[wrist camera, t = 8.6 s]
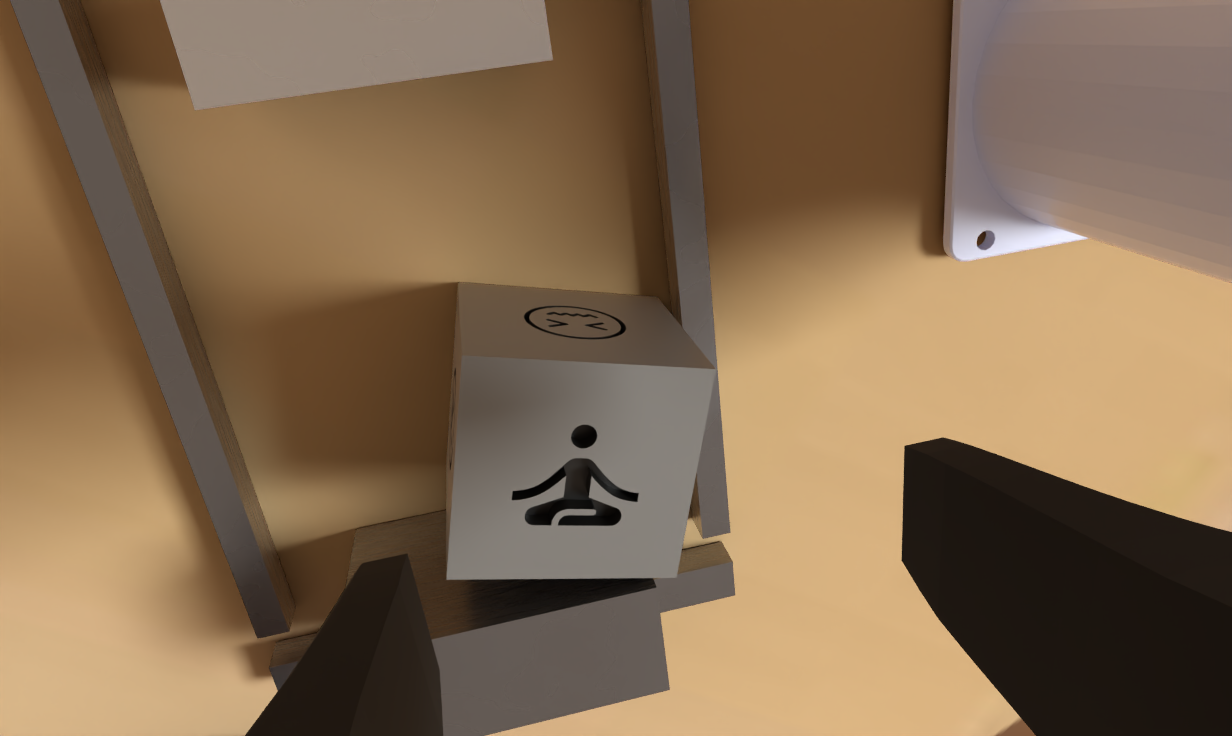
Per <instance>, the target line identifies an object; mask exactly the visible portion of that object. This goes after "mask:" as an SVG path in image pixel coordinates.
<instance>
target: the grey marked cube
mask: <svg viewBox="0 0 1232 736" xmlns="http://www.w3.org/2000/svg"><path fill="white" fill-rule="evenodd" d="M715 372H716V368H715V367H714V366H713V365H712V364H711V362H710V361H709V360H708V359H707V357H706V356H705V355H704V354H703V352H702V351H701V350H700V349H699V348H698V346H697V345H696V344H695V343H694V341H693V340H692V339H691V338H690V336H689V335H688V334H687V333H686V332H685V330H684V329H683V328H682V327H681V325H680V324H679V323H678V322H677V321H676V319H675V318H674V317H673V316H672V314H671V313H670V312H669V311H668V309H667V308H666V307H665V306H664V305H663V303H662V302H661V301H660V300H659V298H658V297H653V296H640V295H626V294H613V293H599V292H586V291H572V290H559V289H545V288H532V287H519V286H505V285H492V284H478V283H465V282H458V289H457V304H456V320H455V335H454V350H453V366H452V381H451V397H450V412H449V427H448V443H447V458H446V580H472V579H592V578H677V572H678V567H679V562H680V556H681V551H682V546H683V541H684V535H685V530H686V525H687V520H688V514H689V509H690V504H691V499H692V493H693V488H694V483H695V478H696V472H697V467H698V462H699V457H700V451H701V446H702V441H703V435H704V430H705V425H706V420H707V414H708V409H709V404H710V399H711V393H712V388H713V383H714V378H715Z"/></svg>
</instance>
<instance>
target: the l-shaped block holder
mask: <svg viewBox="0 0 1232 736" xmlns="http://www.w3.org/2000/svg"><path fill="white" fill-rule="evenodd" d="M160 3H161V6H162V9H163V12H164V15H165V18H166V21H167V24H168V28H169V31H170V34H171V37H172V40H173V43H174V46H175V49H176V53H177V56H178V59H179V62H180V65H181V68H182V71H183V74H184V78H185V81H186V84H187V87H188V90H189V93H190V96H191V100H192V103H193V106H194V109H195V110H201V109H208V108H216V107H223V106H230V105H237V104H244V103H251V102H258V101H265V100H272V99H280V98H287V97H294V96H301V95H308V94H315V93H322V92H329V91H336V90H344V89H351V88H358V87H365V86H372V85H379V84H386V83H393V82H400V81H408V80H415V79H422V78H429V77H436V76H443V75H450V74H457V73H464V72H472V71H479V70H486V69H493V68H500V67H507V66H514V65H521V64H528V63H536V62H543V61H550V60H553V57H552V50H551V43H550V36H549V29H548V22H547V15H546V8H545V1H544V0H160Z"/></svg>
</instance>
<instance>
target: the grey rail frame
mask: <svg viewBox="0 0 1232 736" xmlns="http://www.w3.org/2000/svg"><path fill="white" fill-rule="evenodd" d="M10 1H11V4H12V6H13V9H14V12H15V14H16V17H17V19H18V22H19V25H20V27H21V30H22V32H23V35H24V37H25V40H26V43H27V45H28V48H29V50H30V53H31V55H32V58H33V61H34V63H35V66H36V68H37V71H38V74H39V76H40V79H41V81H42V84H43V86H44V89H45V92H46V94H47V97H48V99H49V102H50V104H51V107H52V110H53V112H54V115H55V117H56V120H57V123H58V125H59V128H60V130H61V133H62V135H63V138H64V141H65V143H66V146H67V148H68V151H69V153H70V156H71V159H72V161H73V164H74V166H75V169H76V171H77V174H78V177H79V179H80V182H81V184H82V187H83V190H84V192H85V195H86V197H87V200H88V202H89V205H90V208H91V210H92V213H93V215H94V218H95V220H96V223H97V226H98V228H99V231H100V233H101V236H102V239H103V241H104V244H105V246H106V249H107V251H108V254H109V257H110V259H111V262H112V264H113V267H114V269H115V272H116V275H117V277H118V280H119V282H120V285H121V288H122V290H123V293H124V295H125V298H126V300H127V303H128V306H129V308H130V311H131V313H132V316H133V318H134V321H135V324H136V326H137V329H138V331H139V334H140V336H141V339H142V342H143V344H144V347H145V349H146V352H147V355H148V357H149V360H150V362H151V365H152V367H153V370H154V373H155V375H156V378H157V380H158V383H159V385H160V388H161V391H162V393H163V396H164V398H165V401H166V404H167V406H168V409H169V411H170V414H171V416H172V419H173V422H174V424H175V427H176V429H177V432H178V434H179V437H180V440H181V442H182V445H183V447H184V450H185V453H186V455H187V458H188V460H189V463H190V465H191V468H192V471H193V473H194V476H195V478H196V481H197V483H198V486H199V489H200V491H201V494H202V496H203V499H204V501H205V504H206V507H207V509H208V512H209V514H210V517H211V520H212V522H213V525H214V527H215V530H216V532H217V535H218V538H219V540H220V543H221V545H222V548H223V550H224V553H225V556H226V558H227V561H228V563H229V566H230V569H231V571H232V574H233V576H234V579H235V581H236V584H237V587H238V589H239V592H240V594H241V597H242V599H243V602H244V605H245V607H246V610H247V612H248V615H249V618H250V620H251V623H252V625H253V628H254V630H255V633H256V636H257V638H263V637H267V636H271V635H276V634H280V633H285V632H289V631H290V627H291V623H292V620H293V616H294V612H295V608H296V606H295V603H294V600H293V597H292V595H291V592H290V589H289V586H288V583H287V581H286V578H285V575H284V572H283V569H282V567H281V564H280V561H279V558H278V555H277V552H276V550H275V547H274V544H273V541H272V538H271V536H270V533H269V530H268V527H267V524H266V522H265V519H264V516H263V513H262V510H261V508H260V505H259V502H258V499H257V496H256V493H255V491H254V488H253V485H252V482H251V479H250V477H249V474H248V471H247V468H246V465H245V463H244V460H243V457H242V454H241V451H240V449H239V446H238V443H237V440H236V437H235V435H234V432H233V429H232V426H231V423H230V420H229V418H228V415H227V412H226V409H225V406H224V404H223V401H222V398H221V395H220V392H219V390H218V387H217V384H216V381H215V378H214V376H213V373H212V370H211V367H210V364H209V361H208V359H207V356H206V353H205V350H204V347H203V345H202V342H201V339H200V336H199V333H198V331H197V328H196V325H195V322H194V319H193V317H192V314H191V311H190V308H189V305H188V303H187V300H186V297H185V294H184V291H183V288H182V286H181V283H180V280H179V277H178V274H177V272H176V269H175V266H174V263H173V260H172V258H171V255H170V252H169V249H168V246H167V244H166V241H165V238H164V235H163V232H162V229H161V227H160V224H159V221H158V218H157V215H156V213H155V210H154V207H153V204H152V201H151V199H150V196H149V193H148V190H147V187H146V185H145V182H144V179H143V176H142V173H141V171H140V168H139V165H138V162H137V159H136V156H135V154H134V151H133V148H132V145H131V142H130V140H129V137H128V134H127V131H126V128H125V126H124V123H123V120H122V117H121V114H120V112H119V109H118V106H117V103H116V100H115V97H114V95H113V92H112V89H111V86H110V83H109V81H108V78H107V75H106V72H105V69H104V67H103V64H102V61H101V58H100V55H99V53H98V50H97V47H96V44H95V41H94V38H93V36H92V33H91V30H90V27H89V24H88V22H87V19H86V16H85V13H84V10H83V8H82V5H81V2H80V0H10ZM641 9H642V19H643V29H644V39H645V49H646V59H647V69H648V79H649V89H650V99H651V109H652V119H653V128H654V138H655V148H656V158H657V168H658V178H659V188H660V198H661V208H662V218H663V228H664V238H665V248H666V258H667V268H668V278H669V288H670V298H671V308H672V316H673V317H674V318H675V319H676V321H677V322H678V323H679V324H680V325H681V327H682V328H683V329H684V330H685V332H686V333H687V334H688V335H689V336H690V338H691V339H692V340H693V341H694V343H695V344H696V345H697V346H698V348H699V349H700V350H701V351H702V352H703V354H704V355H705V356H706V357H707V359H708V360H709V361H710V362H711V364H712V365H713V366H714V367H715V368H716V372H715V378H714V383H713V388H712V393H711V399H710V404H709V409H708V414H707V420H706V425H705V430H704V435H703V441H702V446H701V451H700V457H699V462H698V467H697V472H696V478H695V483H694V488H693V493H692V499H691V507H692V517H693V521H694V523H695V525H696V527H697V528H698V530H699V532H700V534H701V536H702V538H703V539H704V538H708V537H713V536H717V535H722V534H726V533H730V523H729V510H728V498H727V485H726V472H725V459H724V447H723V434H722V421H721V409H720V396H719V383H718V370H717V358H716V345H715V332H714V319H713V307H712V294H711V281H710V269H709V256H708V243H707V230H706V218H705V205H704V192H703V180H702V167H701V154H700V141H699V129H698V116H697V103H696V91H695V78H694V65H693V52H692V40H691V27H690V14H689V1H688V0H641ZM407 553H408V557H409V560H410V564H411V568H412V571H413V575H414V578H415V582H416V586H417V589H418V593H419V596H420V600H421V604H422V607H423V611H424V615H425V618H426V622H427V625H428V629H429V633H430V636H431V640H432V643H433V647H434V651H435V654H436V658H437V662H438V665H439V669H440V683H441V699H442V717H443V736H485V735H489V734H493V733H497V732H501V731H505V730H509V729H513V728H517V727H522V726H526V725H530V724H534V723H538V722H542V721H546V720H550V719H554V718H558V717H562V716H566V715H570V714H574V713H578V712H582V711H586V710H590V709H594V708H598V707H602V706H606V705H610V704H614V703H618V702H622V701H626V700H630V699H634V698H638V697H642V696H646V695H650V694H654V693H658V692H663V691H667V690H670V688H669V680H668V672H667V664H666V656H665V648H664V640H663V633H662V625H661V617H660V613H662V612H666V611H670V610H674V609H679V608H683V607H687V606H691V605H696V604H700V603H704V602H708V601H713V600H717V599H721V598H725V597H730V596H734V595H735V587H734V574H733V562H732V560H731V558H730V556H729V554H728V552H727V551H726V549H725V547H724V545H723V543H722V542H718V543H713V544H709V545H704V546H700V547H695V548H691V549H687V550H682V551H681V556H680V562H679V567H678V572H677V578H592V579H472V580H446V510H445V511H440V512H435V513H430V514H426V515H421V516H416V517H411V518H407V519H402V520H397V521H392V522H388V523H383V524H378V525H373V526H369V527H364V528H359V529H356V531H355V537H354V543H353V548H352V554H351V559H350V565H349V571H348V576H347V582H346V586H347V585H348V583H349V581H350V580H351V578H352V577H353V575H354V573H355V572H356V570H357V569H358V568H359V566H360V565H361V564H362V563H365V562H370V561H374V560H379V559H383V558H388V557H393V556H397V555H402V554H407ZM345 588H346V587H345ZM316 634H317V633H314V634H310V635H305V636H301V637H296V638H292V639H287V640H283V641H279V642H276V645H275V648H274V652H273V655H272V659H271V663H270V666H269V669H270V672H271V674H272V677H273V679H274V682H275V685H276V687H277V690H278V691H279V689H280V688H281V686H282V685H283V684H284V682H285V681H286V679H287V678H288V676H289V675H290V673H291V672H292V670H293V669H294V667H295V666H296V664H297V663H298V661H299V660H300V658H301V657H302V655H303V654H304V652H305V651H306V649H307V648H308V646H309V645H310V643H311V642H312V640H313V639H314V637H315V636H316Z"/></svg>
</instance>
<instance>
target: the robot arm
mask: <svg viewBox="0 0 1232 736" xmlns="http://www.w3.org/2000/svg"><path fill="white" fill-rule="evenodd" d="M984 231H985V233H986V237H985V240H984V241H983V243H982V244H981V245H979V246H977V238H978V236H979V235H980V234H981V233H982V232H984ZM1084 239H1093V240H1096V241H1099V242H1103V243H1106V244H1109V245H1112V246H1115V247H1118V248H1122V249H1125V250H1128V251H1131V252H1134V253H1137V254H1141V255H1144V256H1147V257H1150V258H1153V259H1156V260H1160V261H1163V262H1166V263H1169V264H1172V265H1175V266H1179V267H1182V268H1185V269H1188V270H1191V271H1194V272H1198V273H1201V274H1204V275H1207V276H1210V277H1213V278H1217V279H1220V280H1223V281H1226V282H1229V283H1232V0H953V21H952V45H951V68H950V92H949V116H948V139H947V163H946V187H945V210H944V234H943V246H944V251H945V252H946V254H947V255H948V256H949V257H951V258H953V259H955V260H958V261H971V260H977V259H982V258H988V257H993V256H998V255H1004V254H1009V253H1014V252H1020V251H1025V250H1031V249H1036V248H1041V247H1047V246H1052V245H1057V244H1063V243H1068V242H1074V241H1079V240H1084ZM902 562H903V563H904V565H905V567H906V568H907V570H908V572H909V573H910V575H911V577H912V578H913V580H914V582H915V583H916V585H917V586H918V588H919V590H920V591H921V593H922V595H923V596H924V598H925V599H926V601H927V602H928V604H929V605H930V607H931V608H932V610H933V611H934V613H935V614H936V616H937V617H938V619H939V620H940V621H941V622H942V624H943V625H944V626H945V627H946V629H947V630H948V631H949V632H950V634H951V635H952V636H953V637H954V638H955V640H956V641H957V642H958V643H959V645H960V646H961V647H962V648H963V649H964V651H965V652H966V653H967V654H968V655H969V657H970V658H971V659H972V660H973V661H974V663H975V664H976V665H977V666H978V667H979V669H980V670H981V671H982V672H983V673H984V674H985V676H986V677H987V678H988V679H989V680H990V682H991V683H992V684H993V685H994V686H995V688H996V689H997V690H998V691H999V692H1000V693H1001V695H1002V696H1003V697H1004V698H1005V699H1006V701H1007V702H1008V703H1009V704H1010V705H1011V706H1012V708H1013V709H1014V710H1015V711H1016V712H1017V714H1018V715H1019V716H1020V717H1021V718H1022V720H1023V721H1024V722H1025V723H1026V724H1027V725H1028V727H1029V728H1030V729H1031V730H1032V731H1033V733H1034V734H1035V735H1036V736H1232V532H1229V531H1225V530H1221V529H1217V528H1213V527H1210V526H1206V525H1203V524H1199V523H1196V522H1192V521H1189V520H1185V519H1182V518H1178V517H1175V516H1172V515H1169V514H1166V513H1163V512H1159V511H1156V510H1153V509H1150V508H1147V507H1144V506H1140V505H1137V504H1134V503H1131V502H1128V501H1125V500H1122V499H1119V498H1116V497H1113V496H1110V495H1107V494H1104V493H1101V492H1098V491H1096V490H1093V489H1090V488H1087V487H1084V486H1081V485H1079V484H1076V483H1073V482H1070V481H1067V480H1065V479H1062V478H1059V477H1056V476H1054V475H1051V474H1048V473H1046V472H1043V471H1040V470H1037V469H1035V468H1032V467H1029V466H1027V465H1024V464H1021V463H1018V462H1016V461H1013V460H1010V459H1008V458H1005V457H1002V456H999V455H997V454H994V453H991V452H988V451H985V450H982V449H980V448H977V447H974V446H971V445H968V444H964V443H961V442H958V441H954V440H951V439H947V438H939V439H934V440H930V441H925V442H920V443H916V444H911V445H906V446H905V451H904V491H903V531H902ZM245 736H443V717H442V699H441V683H440V669H439V665H438V662H437V658H436V654H435V651H434V647H433V643H432V640H431V636H430V633H429V629H428V625H427V622H426V618H425V615H424V611H423V607H422V604H421V600H420V596H419V593H418V589H417V586H416V582H415V578H414V575H413V571H412V568H411V564H410V560H409V557H408V553H407V554H402V555H397V556H393V557H388V558H383V559H379V560H374V561H370V562H365V563H362V564H361V565H360V566H359V568H358V569H357V570H356V572H355V573H354V575H353V577H352V578H351V580H350V581H349V583H348V585H347V586H346V588H345V589H344V591H343V593H342V594H341V596H340V598H339V599H338V601H337V602H336V604H335V606H334V607H333V609H332V611H331V612H330V614H329V615H328V617H327V619H326V620H325V622H324V623H323V625H322V626H321V628H320V630H319V631H318V633H317V634H316V636H315V637H314V639H313V640H312V642H311V643H310V645H309V646H308V648H307V649H306V651H305V652H304V654H303V655H302V657H301V658H300V660H299V661H298V663H297V664H296V666H295V667H294V669H293V670H292V672H291V673H290V675H289V676H288V678H287V679H286V681H285V682H284V684H283V685H282V686H281V688H280V689H279V691H278V692H277V693H276V695H275V696H274V697H273V699H272V700H271V701H270V703H269V704H268V705H267V707H266V708H265V710H264V711H263V712H262V714H261V715H260V716H259V718H258V719H257V720H256V722H255V723H254V724H253V726H252V727H251V728H250V730H249V731H248V732H247V734H246V735H245Z"/></svg>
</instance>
